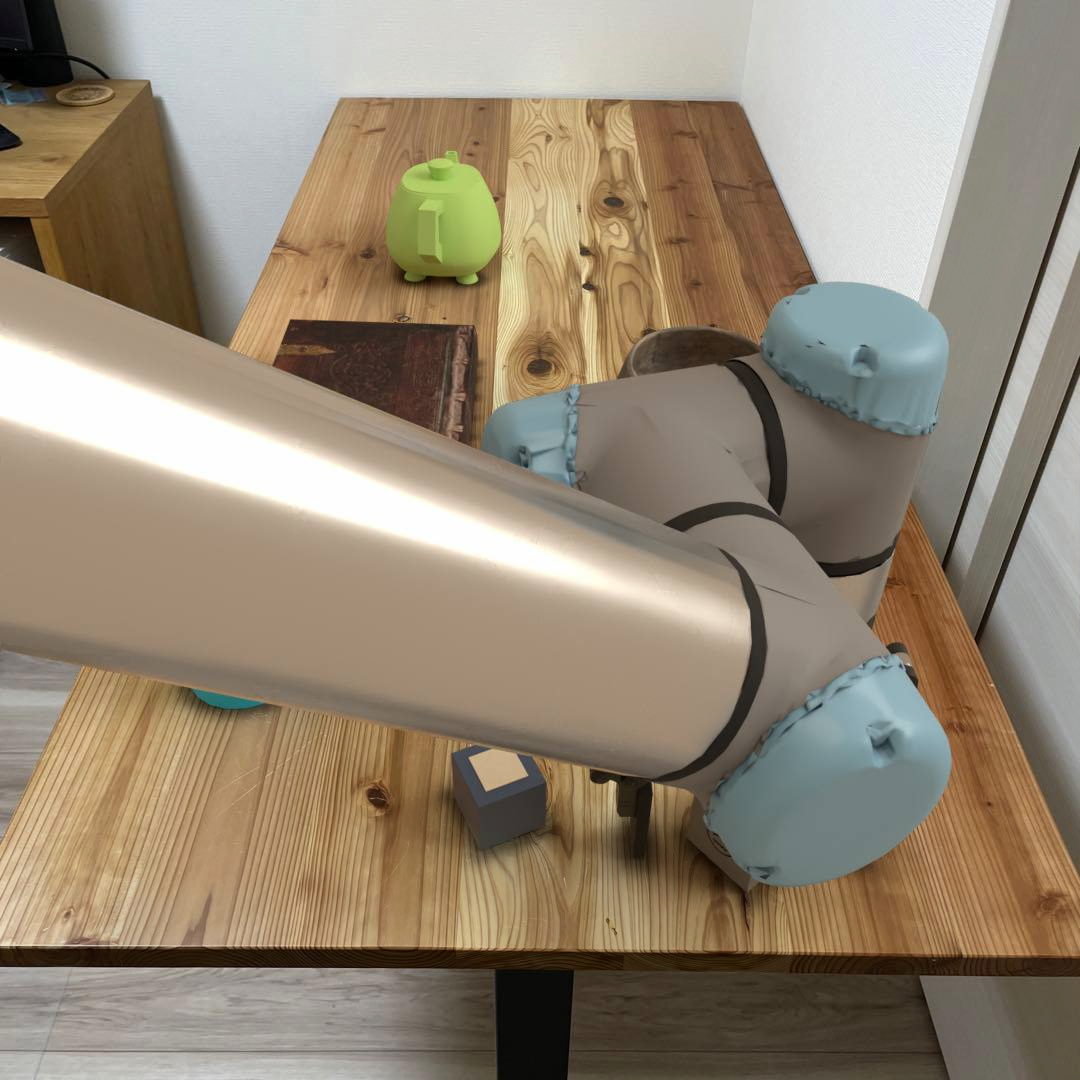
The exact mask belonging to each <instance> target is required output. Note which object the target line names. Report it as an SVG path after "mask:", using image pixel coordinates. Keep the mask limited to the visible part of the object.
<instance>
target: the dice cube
mask: <svg viewBox="0 0 1080 1080" xmlns="http://www.w3.org/2000/svg"><path fill="white" fill-rule="evenodd" d="M704 814H705V811H704V808H703V806H702V804H701V802H700V801H699V799H698V798H697V797H696V796H695V795H694V794H693V799H692V804H691V810H690V815H689V816H690V817H689V822H688V828H687V829H688V830H687V834H686V839H687V840H689V841H690V843H692V845H694V846H695V847H696V848H697V849H698V850H700V852H702V853H703V854H704V855H705V856H706V857H707V859H709V860H710V861H712V862H713V864H715V865H716V866H717V867H718V868H719V869H720V870H721V871H722V872H723V873H724V874H725V875H727V876H728V877H729V878H730V879H731V880H732V881H733V882H734V883H735V884H737V886H739V887H740V889H742V890H743V891H744V892H745V893H746V894H747V893H749V891H751V890H752V889H753V888H754V887H755V886H757V885H758V884H759V883H760V882H759V881H758V880H755V879H753V878H752V877H751V875H750V874H749V873H747V872H746V871H744V870H743V869H742V868H740V867H739V866H738V865H737V864H736V863H735V861H734V860H733V858H732V856H731V855H730V853H729V851H728V850H727V848H726V846H725V845H724V843H723V841H722V840H721V838H720V836H719V835H718V834H717V833H715V832H713V831H710V830H709V829H708V828H707V826H706V824H705V822H704V819H703V815H704Z"/></svg>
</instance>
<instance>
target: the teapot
mask: <svg viewBox="0 0 1080 1080" xmlns="http://www.w3.org/2000/svg"><path fill="white" fill-rule="evenodd" d="M444 155H445V156H444V157H440V158H438V157H437V158H433V159H430V160H428V161H427V162H423V163H419V164H416V165H414V166H412V167H410V168H409V169H407V170H406V172H405V173H404V174H403V176H402V177H401V179H400V181H399V182H398V185H397V187H396V190H395V191H394V194H393V197H392V200H391V202H390V206H389V209H388V213H387V218H386V225H385V246H386V248H387V251H388V254H389V255H390V257H391V259H392V260H393V261H394V262H395V263H396V265H397V266H398V267H399V268H400V269H402V270H403V271H404V272H405V274H404V279H405V280H406V281H409V282H420V281H423V280H425V279H426V278H427V276H428V277H429V276H431V277H455V280H456V282H457V283H459V284H462V285H473V284H476V283H477V282H478V280H479V277H478V275H477V272H479V271H480V272H481V270H482V269H484V268H485V267H486V266H487V265H488V264H489V263H490V261H491V260H492V259H493V257H494V256H495V254H496V253H497V251H498V250H499V247H500V245H501V242H502V228H501V227H502V226H501V220H500V216H499V212H498V208H497V206H496V203H495V200H494V198H493V196H492V193H491V191H490V189H489V187H488V185H487V183H486V181H485V179H484V177H483V176H482V174H481V172H480V171H479V170H478V168H476V167H475V166H472V165H470V164H466V163H460V162H459V157H458V151H457V150H446V152H445V154H444Z"/></svg>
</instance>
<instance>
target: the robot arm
mask: <svg viewBox="0 0 1080 1080" xmlns="http://www.w3.org/2000/svg"><path fill="white" fill-rule="evenodd" d="M759 337H760V340H759V342H760V343H759V344H760V346H759V348H761V350H760V353H757V354H753V355H750V356H744V357H738V358H732V359H728V360H726V361H724V362H723V363H719V364H711V365H705V366H698V367H692V368H686V369H679V370H673V371H667V372H660V373H654V374H648V375H641V376H635V377H629V378H622V379H617V378H616V379H611V380H610V379H609V380H604V381H597V382H591V383H585V384H580V383H574V384H570V385H569V386H567V388H566V389H561V390H558V391H552V392H549V393H543V394H540V395H536V396H531V397H528V398H523V399H518V400H514V401H511V402H506V403H504V404H501V405H500V406H498V407H497V408H496V409H495V410H494V411H493V412H492V413H491V415H490V416H489V417H488V419H486V420H487V421H486V422H485V424H484V425H485V426H484V428H483V430H482V435H481V439H480V440H481V441H480V449H477V448H476V447H472V446H471V445H469V446H468V445H465V444H463V443H461V442H458V441H456V440H453V439H451V438H448V437H446V436H443V435H441V434H438V433H436V432H433V431H431V430H428V429H426V428H424V427H421V426H419V425H416V424H414V423H411V422H409V421H406V420H404V419H401V418H399V417H396V416H394V415H392V414H389V413H387V412H384V411H382V410H379V409H377V408H374V407H372V406H369V405H367V404H364V403H362V402H359V401H357V400H355V399H352V398H350V397H347V396H345V395H342V394H340V393H337V392H335V391H332V390H330V389H327V388H325V387H323V386H320V385H318V384H315V383H313V382H310V381H308V380H305V379H303V378H300V377H298V376H295V375H293V374H290V373H288V372H286V371H283V370H281V369H278V368H276V367H273V365H271V364H268V363H266V362H263V361H261V360H258V359H256V358H253V357H251V356H249V355H247V354H243V353H241V352H239V351H236V350H234V349H232V348H229V347H226V346H224V345H221V344H219V343H217V342H214V341H211V340H209V339H206V338H205V337H202V336H199V335H197V334H194V333H192V332H189V331H187V330H184V329H182V328H180V327H177V326H175V325H172V324H170V323H168V322H165V321H162V320H160V319H157V318H155V317H153V316H149V315H148V314H145V313H142V312H140V311H137V310H135V309H133V308H130V307H127V306H125V305H123V304H120V303H118V302H116V301H113V300H111V299H108V298H107V297H106V298H105V297H103V296H101V295H97V294H96V293H94V292H91V291H89V290H86V289H83V288H81V287H78V286H76V285H73V284H72V283H69V282H66V281H65V280H61V279H59V278H56V277H54V276H51V275H49V274H46V273H44V272H41V271H39V270H36V269H34V268H31V267H30V266H26V265H24V264H22V263H20V262H17V261H14V260H12V259H10V258H7V257H6V256H2V255H0V651H4V652H11V653H15V654H20V655H25V656H30V657H36V658H40V659H46V660H49V661H55V662H60V663H65V664H69V665H74V666H79V667H83V668H84V667H85V668H90V669H94V670H99V671H105V672H110V673H115V674H119V675H124V676H129V677H134V678H139V679H143V680H144V679H145V680H149V681H154V682H160V683H164V684H168V685H173V686H174V685H175V686H179V687H185V688H189V689H191V688H193V689H198V690H203V691H208V692H213V693H218V694H223V695H228V696H233V697H238V698H243V699H248V700H253V701H258V702H263V703H265V704H268V705H272V706H277V707H283V708H288V709H293V710H298V711H302V712H308V713H313V714H318V715H322V716H327V717H333V718H338V719H342V720H347V721H353V722H358V723H361V724H366V725H367V724H368V725H371V726H376V727H382V728H388V729H393V730H397V731H403V732H406V733H407V732H408V733H413V734H417V735H420V736H421V735H422V736H427V737H432V738H437V739H441V740H448V741H451V742H456V743H461V744H466V745H470V746H473V745H476V746H481V747H486V748H491V749H496V750H501V751H506V752H511V753H516V754H521V755H525V756H530V757H532V758H536V759H540V760H544V761H545V760H546V761H550V762H556V763H561V764H566V765H571V766H575V767H580V768H586V769H588V770H589V780H590V781H591V782H592V783H594V784H595V785H604V784H608V783H609V782H610V781H612V782H614V783H615V805H616V806H615V807H616V813H617V815H618V817H619V818H629V830H630V831H629V832H630V844H631V855H632V857H631V858H632V859H645V858H646V850H647V843H648V838H649V837H648V836H649V828H650V822H651V821H650V820H651V813H652V805H653V797H654V790H653V784H657V785H661V786H665V787H671V788H676V789H680V790H685V791H688V792H689V793H691V794H692V795H693V796H694V795H695V796H696V797H697V798H698V799H699V801H700V802H701V804H702V806H703V808H704V811H705V814H704V815H703V819H704V822H705V824H706V826H707V828H708V829H709V830H710V831H713V832H715V833H717V834H718V835H719V836H720V838H721V840H722V841H723V843H724V845H725V846H726V848H727V850H728V851H729V853H730V855H731V856H732V858H733V860H734V861H735V863H736V864H737V865H738V866H739V867H740V868H742V869H743V870H744V871H746V872H747V873H749V874H750V875H751V877H752V878H753V879H755V880H758V881H759V883H762V884H764V885H769V886H774V887H776V888H777V887H779V888H801V887H802V888H803V887H808V886H813V885H819V884H823V883H827V882H831V881H835V880H837V879H840V878H841V877H845V876H847V875H850V874H851V873H853V872H856V871H858V870H860V869H862V868H864V867H866V866H867V865H869V864H871V863H873V862H875V861H877V860H879V859H880V858H882V857H883V856H885V855H886V854H888V853H889V852H891V851H892V850H893V849H894V848H895V847H897V846H898V845H899V844H901V843H902V841H904V840H905V839H906V838H907V837H909V836H910V835H911V834H912V833H913V832H914V830H916V829H917V828H918V827H919V826H920V825H921V824H922V823H924V822H925V820H926V819H927V818H928V817H929V816H930V814H931V813H932V811H933V810H934V809H935V808H936V807H937V805H938V803H939V802H940V800H941V798H942V797H943V794H944V792H945V791H946V788H947V786H948V783H949V781H950V777H951V776H950V775H951V770H952V762H953V761H952V751H951V746H950V741H949V738H948V736H947V734H946V732H945V730H944V728H943V726H942V725H941V723H940V722H939V720H938V719H937V716H935V714H934V712H933V711H932V710H931V708H930V707H929V705H928V703H927V702H926V701H925V699H924V698H923V696H922V695H921V693H920V692H919V690H918V687H919V678H918V675H917V673H916V670H915V667H914V664H913V662H912V659H911V657H910V654H909V650H908V648H907V646H906V644H905V643H903V642H902V641H901V642H900V641H894V642H891V643H889V644H887V645H886V646H885V644H884V643H883V642H882V641H881V640H880V639H879V637H878V636H877V635H876V633H875V632H874V631H873V627H874V625H875V621H876V615H877V613H878V610H879V607H880V605H881V602H882V598H883V595H884V591H885V588H886V585H887V581H888V577H889V573H890V570H891V567H892V563H893V559H894V555H895V552H896V548H897V544H898V540H899V537H900V534H901V529H902V526H903V524H904V520H905V517H906V514H907V511H908V508H909V505H910V503H911V502H910V501H911V499H912V495H913V492H914V489H915V486H916V484H917V480H918V478H919V474H920V470H921V467H922V464H923V461H924V458H925V454H926V452H927V449H928V447H929V446H928V445H929V443H930V439H931V436H932V433H933V432H935V429H936V427H937V425H938V420H939V414H938V413H939V408H940V403H941V399H942V393H943V389H944V385H945V381H946V376H947V369H948V362H949V355H950V342H949V339H948V335H947V332H946V329H945V328H944V326H943V324H942V323H941V322H940V321H939V319H938V317H937V316H936V315H935V314H934V313H932V312H930V311H929V310H927V309H926V308H923V307H922V305H921V303H920V302H918V301H917V300H915V299H913V298H911V297H909V296H908V295H905V294H903V293H900V292H898V291H896V290H893V289H889V288H886V287H883V286H880V285H875V284H871V283H865V282H864V283H863V282H857V281H824V282H819V283H818V282H817V283H812V284H808V285H803V286H802V287H799V288H798V289H796V290H795V292H794V293H793V294H792V295H786V296H784V297H782V298H781V299H780V300H778V301H777V302H776V303H775V305H774V306H773V307H772V309H771V311H770V313H769V315H768V318H767V322H766V326H765V330H764V331H763V332H762V333H761V335H760V336H759Z"/></svg>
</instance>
